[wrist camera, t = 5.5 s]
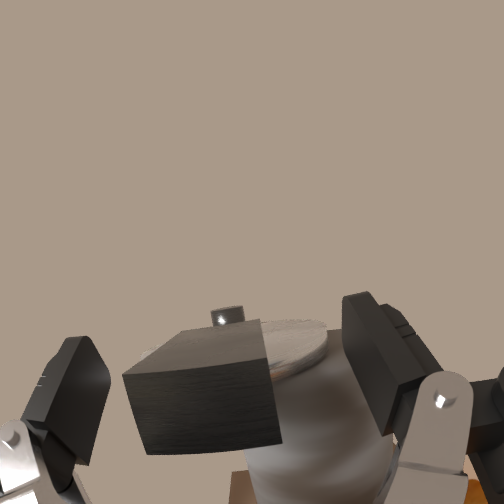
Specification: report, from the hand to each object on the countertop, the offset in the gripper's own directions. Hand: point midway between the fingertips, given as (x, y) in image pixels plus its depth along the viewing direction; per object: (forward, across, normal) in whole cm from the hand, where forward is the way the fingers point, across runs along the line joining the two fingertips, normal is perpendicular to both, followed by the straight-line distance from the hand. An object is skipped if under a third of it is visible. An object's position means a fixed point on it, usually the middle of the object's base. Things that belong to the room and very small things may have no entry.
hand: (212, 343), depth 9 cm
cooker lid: (+2, 0, +4) cm, 4 cm away
